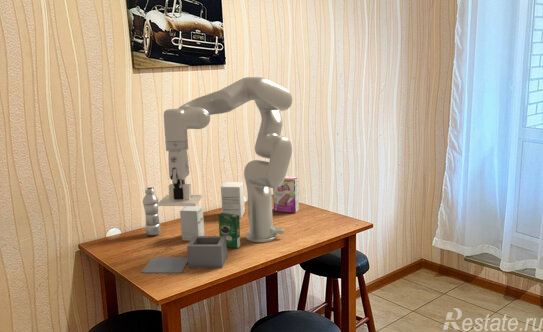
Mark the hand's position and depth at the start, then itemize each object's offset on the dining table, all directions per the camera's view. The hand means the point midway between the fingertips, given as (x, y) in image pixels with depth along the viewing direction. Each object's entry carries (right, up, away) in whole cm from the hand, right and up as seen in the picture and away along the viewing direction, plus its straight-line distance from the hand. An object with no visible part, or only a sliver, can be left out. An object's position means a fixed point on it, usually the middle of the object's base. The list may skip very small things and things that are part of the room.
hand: (180, 197), depth 178 cm
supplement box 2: (+14, -12, +59) cm, 62 cm away
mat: (-6, -25, +5) cm, 26 cm away
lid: (0, -2, 0) cm, 2 cm away
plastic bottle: (-18, -18, +37) cm, 45 cm away
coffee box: (+16, -21, +21) cm, 33 cm away
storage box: (+9, -24, +6) cm, 26 cm away
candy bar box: (+39, -10, +63) cm, 74 cm away
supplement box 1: (0, -19, +32) cm, 37 cm away
